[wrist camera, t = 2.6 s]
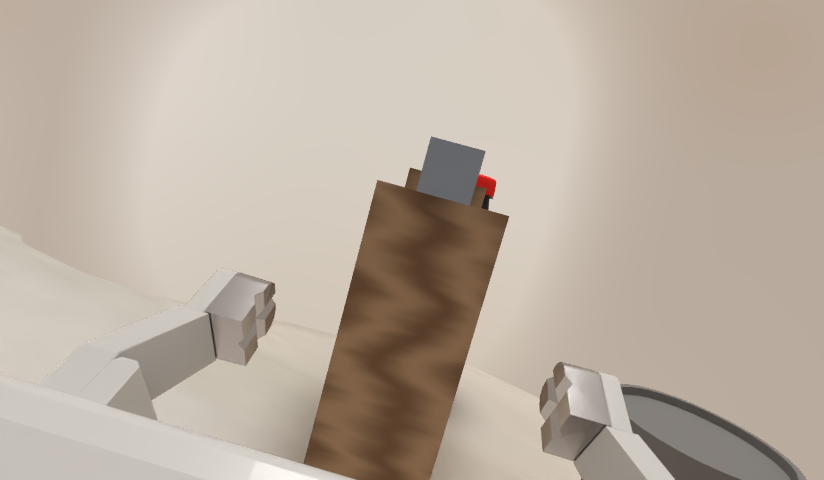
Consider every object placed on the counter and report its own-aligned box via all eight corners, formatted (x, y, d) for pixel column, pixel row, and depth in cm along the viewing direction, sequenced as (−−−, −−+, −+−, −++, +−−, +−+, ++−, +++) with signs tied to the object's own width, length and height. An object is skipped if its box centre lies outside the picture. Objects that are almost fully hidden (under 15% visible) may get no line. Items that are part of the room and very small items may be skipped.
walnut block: (296, 492, 34) (382, 160, 30) (343, 397, 50) (403, 172, 46) (414, 528, 33) (515, 196, 30) (423, 421, 49) (490, 196, 46)
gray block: (416, 191, 23) (431, 136, 22) (428, 193, 42) (436, 165, 42) (469, 205, 22) (485, 151, 22) (456, 201, 42) (465, 173, 42)
